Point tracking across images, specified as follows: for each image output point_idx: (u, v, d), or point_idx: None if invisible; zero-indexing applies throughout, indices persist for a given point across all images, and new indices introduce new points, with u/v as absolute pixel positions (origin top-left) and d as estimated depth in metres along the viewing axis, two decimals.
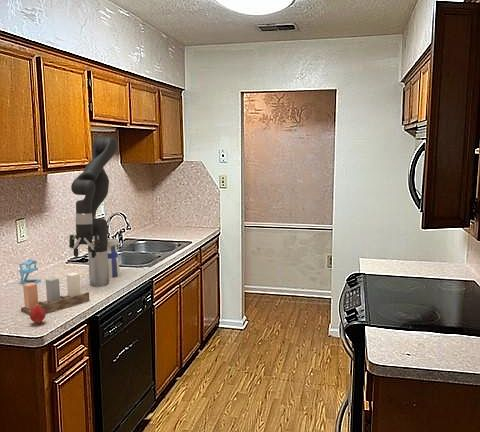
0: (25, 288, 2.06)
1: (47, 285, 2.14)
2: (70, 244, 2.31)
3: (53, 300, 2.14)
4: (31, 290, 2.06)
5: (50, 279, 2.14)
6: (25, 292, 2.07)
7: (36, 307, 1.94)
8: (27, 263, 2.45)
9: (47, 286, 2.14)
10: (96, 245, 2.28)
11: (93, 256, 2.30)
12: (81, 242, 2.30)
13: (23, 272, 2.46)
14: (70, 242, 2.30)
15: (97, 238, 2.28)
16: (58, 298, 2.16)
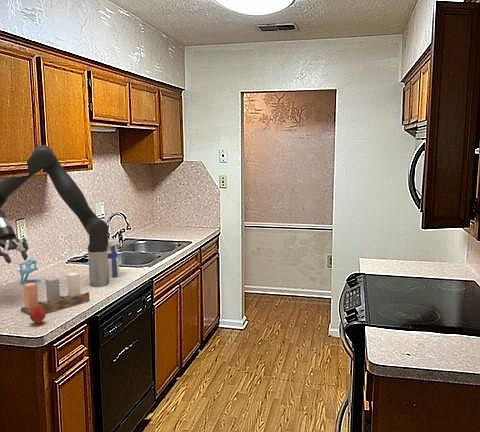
0: (25, 288, 2.06)
1: (47, 285, 2.14)
2: None
3: (53, 300, 2.14)
4: (31, 290, 2.06)
5: (50, 279, 2.14)
6: (25, 292, 2.07)
7: (36, 307, 1.94)
8: (27, 263, 2.45)
9: (47, 286, 2.14)
10: None
11: None
12: None
13: (23, 272, 2.46)
14: None
15: None
16: (58, 298, 2.16)
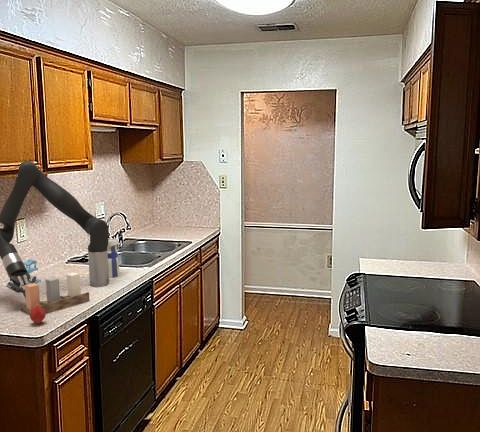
0: (27, 289, 2.05)
1: (47, 285, 2.14)
2: None
3: (53, 300, 2.14)
4: (33, 291, 2.05)
5: (50, 279, 2.14)
6: (27, 293, 2.06)
7: (36, 307, 1.94)
8: (27, 263, 2.45)
9: (47, 286, 2.14)
10: None
11: None
12: None
13: None
14: None
15: (9, 287, 2.08)
16: (58, 298, 2.16)
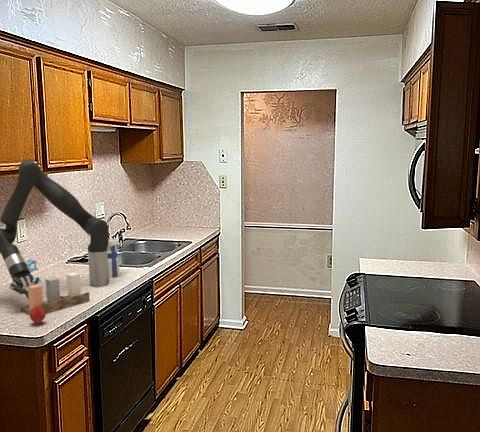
0: (30, 290, 2.03)
1: (47, 285, 2.14)
2: None
3: (53, 300, 2.14)
4: (36, 292, 2.04)
5: (50, 279, 2.14)
6: (30, 294, 2.04)
7: (36, 307, 1.94)
8: (27, 263, 2.45)
9: (47, 286, 2.14)
10: None
11: None
12: None
13: None
14: None
15: (11, 288, 2.06)
16: (58, 298, 2.16)
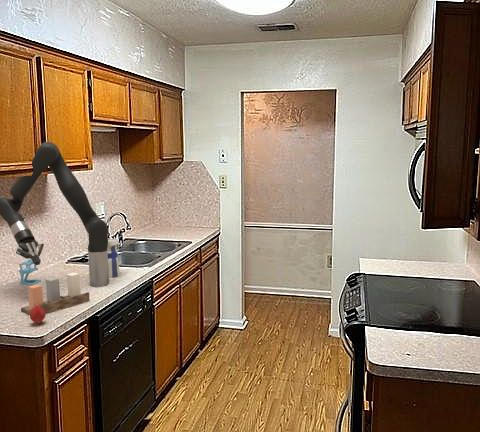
0: (30, 290, 2.03)
1: (47, 285, 2.14)
2: None
3: (53, 300, 2.14)
4: (36, 292, 2.04)
5: (50, 279, 2.14)
6: (30, 294, 2.04)
7: (36, 307, 1.94)
8: (27, 263, 2.45)
9: (47, 286, 2.14)
10: None
11: (35, 264, 2.18)
12: None
13: (23, 272, 2.46)
14: None
15: (18, 253, 2.17)
16: (58, 298, 2.16)
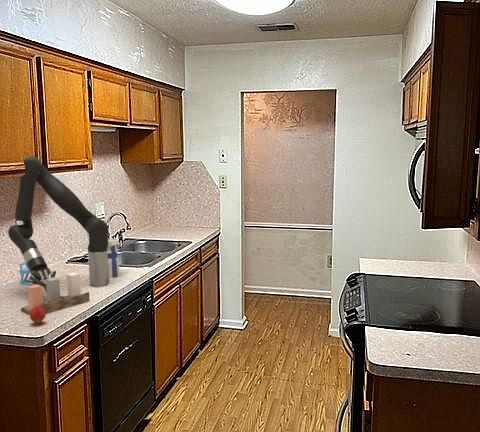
0: (30, 290, 2.03)
1: (47, 285, 2.14)
2: None
3: (53, 300, 2.14)
4: (36, 292, 2.04)
5: (50, 279, 2.14)
6: (30, 294, 2.04)
7: (36, 307, 1.94)
8: None
9: (47, 286, 2.14)
10: None
11: None
12: None
13: (23, 272, 2.46)
14: None
15: (30, 281, 2.16)
16: (58, 298, 2.16)
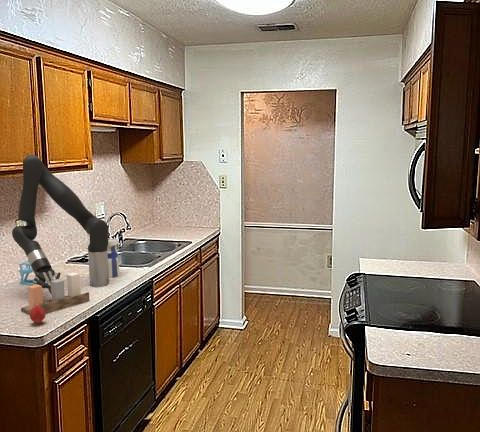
0: (30, 290, 2.03)
1: (52, 287, 2.12)
2: None
3: None
4: (36, 292, 2.04)
5: (55, 281, 2.12)
6: (30, 294, 2.04)
7: (36, 307, 1.94)
8: (27, 263, 2.45)
9: (52, 288, 2.12)
10: None
11: None
12: None
13: (23, 272, 2.46)
14: None
15: (34, 283, 2.14)
16: None
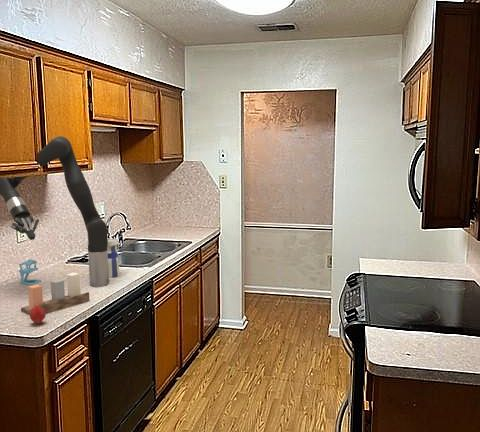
0: (30, 290, 2.03)
1: (52, 287, 2.12)
2: None
3: None
4: (36, 292, 2.04)
5: (55, 281, 2.12)
6: (30, 294, 2.04)
7: (36, 307, 1.94)
8: (27, 263, 2.45)
9: (52, 288, 2.12)
10: None
11: (30, 238, 2.21)
12: None
13: (23, 272, 2.46)
14: None
15: (13, 227, 2.20)
16: None
